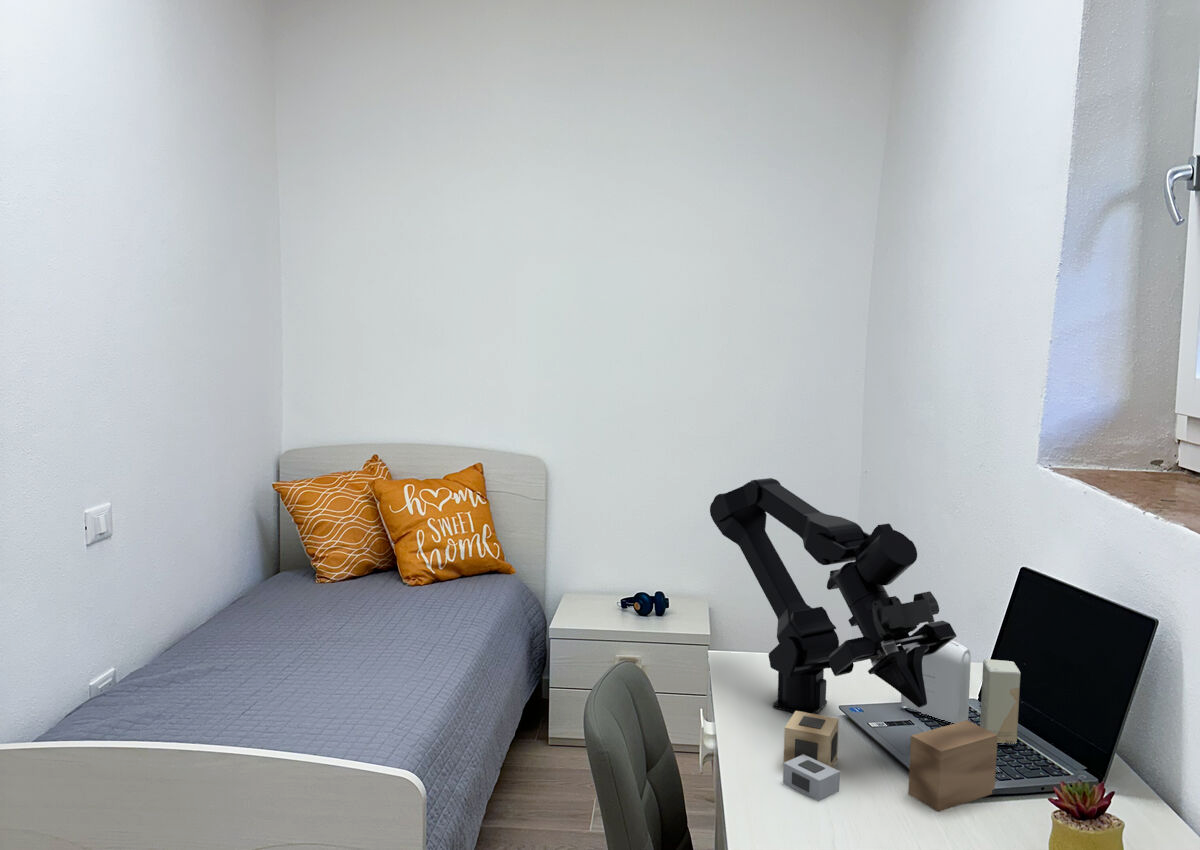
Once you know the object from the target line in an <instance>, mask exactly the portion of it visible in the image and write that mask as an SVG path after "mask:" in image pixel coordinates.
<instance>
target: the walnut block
mask: <svg viewBox="0 0 1200 850" xmlns="http://www.w3.org/2000/svg"><path fill="white" fill-rule="evenodd" d="M997 740H998V735H997V734H995V733H993V732H990V731H988V730H986V729H984V728H982V727H980V725H978V724H976V723H974V722H971V721H969V719H968V720H966V721H962V722H958V723H955V724H952V723H950V724H949V725H945V726H941V727H937V728H934V729H930V730H926V731H922V732H919V733H915V734H911V735H910V751H909V770H908V771H909V772H908V774H909V775H908V790H907V791H908V793H907V794H908V796H909V795H910V796H911V797H913V798H914V799H916V800H918V801H919V802H921V803H923V804H924V805H926V806H928V807H929V808H931V809H932V810H934V811H936V812H937V813H939V812H942V811H945V810H948V809H951V808H955V807H957V806H960V805H961V806H962V805H963V804H966V803H969V802H972V801H975V800H980V799H982V798H984V797H988V796H992V795H994V794H993V793H992V790H994V789H995V787H996V786H995V785H996V769H997V755H998V754H997V753H998V745H997Z"/></svg>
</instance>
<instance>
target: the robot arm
mask: <svg viewBox="0 0 1200 850" xmlns="http://www.w3.org/2000/svg"><path fill="white" fill-rule="evenodd" d="M709 514H710V515H709V516H711V517H710V518H711V520H712V521H713V523H714V524H715V526H716V527H717V529H718V530H719V532H720V533H721V535H723V537H725V538H727V539H728V540H730V541H731V542H733V543H735V545H737V546H738V548H739V549H740V550H741V553H742V554H743V556H744V558H745V559H746V562H747V563H748V566H749V567H750V570H751V571H752V573H753V575H754V577H755V578H756V581H757V582H758V584H759V586H760V588H761V590H762V592H763V594H764V595H765V597H766V599H767V601H768V602H769V605H770V607H771V609H772V610H773V612H774V614H775V616H776V618H777V627H776V639H777V641H778V644H777V645H776V646H775V647H774V648H773V649H772V650H770V652H769V653H768V659H769V664H770V665H769V666H770V668H771V669H773V670H775V671H777V672H778V674H777V700H776V701H774V702H773V703H772V707H773V708H774V709H778V710H782V711H786V712H790V713H793V714H794V713H795V711H800V712H806V713H811V714H817V713H818V712H819V711H820V710H821V709H823V707H825V706H826V705H827V703H828V701H827V680H826V679H825V678H824V673H825V672H824V671H825V670H824V669H831V671H832V674H833V676H835V677H837V676H842V675H846V674H851V673H852V672H853V669H854V664H855V663H857V662H863V661H867V660H870V663H871V665H872V667H871V668H869V669H868V670H867V672H868V674H869V675H875V676H876V677H878V678H879V679H881V680H882V681H884V682H885V683H886V684H888V685H889V686H891V687H892V688H893V689H895V690H896V691H897V692H898V693H900V695H901V694H902V695H904V696H905V697H906V698H907V699H908V700H910V701H911V702H912V703H913V704H915V705H916V706H917V707H919V708H920V707H924V706H925V705H927V699H926V692H925V686H924V680H923V673H922V659H923V656H927V655H931V654H933V653H935V652H937V651H938V650H939V649H941V648H942V647H943V646H945V645H946V644H947V643H949V642H950V641H951V640H952V641H954V639H955V638H956V637H957V634H956V631H955V630H954V629H953V626H952V625H951V624H950V622H948V621H945V620H938V621H935V617H934V615H939V612H940V606H939V602H938V601H937V598H935V596H934V594H933V593H932V591H930V590H928V591H925V592H920V593H915V594H913V601H909V602H904V603H903V602H901V600H900V598H899V597H897V595H894V596H890V595H889V594H888V592H887V590H886V587H884V586H889V585H891V584H892V583H894V582H895V581H896V580H897V579H898V578H899V577H900V576H901V575H902V574H903V573H904V572H905V571H907V570H908V569H909V568H910V567H912V565H913V564H914V563H916V561H917V559H918V550H917V547H916V545H915V544H914V541H913V540H911V539H909V538H908V537H907V536H906V535H905V534H903V532H900V531H898V530H896V529H893V527H892V525H891V523H888V522H887V523H882V524H877V526H876V527H874V529H873V530H872V533H870V534H869V533H867V532H866V531H864V530H863V528H862V527H861V525H859V524H858V523H856V522H854V521H852V520H849V519H847V518H845V517H841V516H838V515H831V514H828V513H827V514H826V513H825V512H822V511H820V510H819V509H817V508H816V507H813V505H811V504H809V503H808V502H807V501H805V500H804V499H802V498H801V497H799V496H798V495H796V494H795V493H793V492H792V491H790V490H789V489H787V488H785V487H784V486H783V485H782V484H781V483H780V481H779V480H777V479H775V478H772V477H769V478H760V479H751V480H750V481H748V482H747V483H745V484H744V485H742V486H740V487H737V488H735V489H732V490H731V491H728V492H725V493H724V492H723V493H719V494H716V495H715V496H714V499H713V501H711V503H710V505H709ZM767 514H768V515H770V516H771V517H772V518H774V519H775V520H777V521H778V522H779V523H781V524H782V525H783V526H785V527H786V528H787V529H789V530H790V531H792V532H794V534H796V535H797V536H799V538H801V539H802V543H803V549H805V551H806V552H807V553H808V554H809V555H810V556H811V557H812V558H813V559H814V560H815V561H816V562H817V563H818V564H820V565H822V566H830V565H836V564H841V563H845V564H844V565H842V567H840V568H839V569H833V570H830V571H829V577H828V580H827V582H826V589H827V590H829V591H830V590H837V589H838V590H839V591H840V594H841V596H842V597H843V599H844V601H845V603H846V605H847V607H848V610H849V611H850V614H851V615H852V616H851V617H850V618H848V622H849V624H850V627H858V629H859V631H860V632H861V635H862V636H860V637H856V638H851V639H846V640H845V641H844V642H843V643H841V644H840V640H839V636H838V633H837V632H836V631H835V630H837V626H836V625H834V624H833V622H832V621H831V619H830V617H829V615H828V613H827V610H826V609H825V608H824V607H823V606H817V607H811V606H810V605H808V604H807V603H806V601H805V599H804V598H803V596H802V594H801V593H800V591H799V589H798V587H797V585H796V584H795V581H794V580H793V578H792V576H791V575H790V573H789V571H788V569H787V567H786V565H785V564H784V561H783V560H782V558H781V557H780V555H779V553H778V551H777V550H776V548H775V546H774V544H773V542H772V540H771V539H770V537H769V535H768V533H767V531H766V527H767ZM922 623H923V625H922V626H921V627H919V628H918V626H919V625H920V624H922ZM916 629H917V630H916ZM915 630H916V631H915ZM913 631H914V632H913ZM911 632H913V633H912V634H909V633H911Z"/></svg>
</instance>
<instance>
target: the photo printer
mask: <svg viewBox="0 0 1200 850" xmlns="http://www.w3.org/2000/svg"><path fill="white" fill-rule="evenodd" d="M971 655H972V654H971V651H970V649H969V648H967V647H966V646H964V645H962V644H960V643H959V642H957V641H954V640H951V641H950V642H949V643H947V644H946V645H945V646H943V647H942V648H941V649H939V650H938V651H937V652H935V653H933V654H931V655H927V656H923V659H922V673H923V680H924V686H925V692H926V699H927V705H925V706H924V707H920V708H919V707H917V706H916V705H915V704H913V703H912V702H911V701H910V700H908V699H907V698H906V697H905V696H904V695H902V694H901V693H900V706H901V705H903V706H906V707H908V708H911V709H914V710H917V711H919V712H921V713H923V714H927V715H929V716H932V717H935V718H938V719H941V720H945V721H948V722H951V723H950V724H952V723H958V722H962V721H966V720H968V721H969V708H970V689H971V688H970V686H971V685H970V683H971V660H972V659H971V658H972V657H971ZM938 719H937V720H938ZM941 720H940V721H941ZM945 721H944V722H945ZM948 722H947V723H948Z"/></svg>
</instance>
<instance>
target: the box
mask: <svg viewBox="0 0 1200 850" xmlns="http://www.w3.org/2000/svg"><path fill="white" fill-rule="evenodd" d="M981 680H982V681H981V683H982V684H981V698H980V701H981V703H980V722H979V726H980V727H982V728H984V729H986V730H988V731H990V732H993V733H995V734H997V735H998V740H997V743H1009V744H1010V743H1011V744H1014V743H1015V744H1016V743H1017V741H1018V727H1019V726H1018V725H1019V724H1018V723H1019V708H1020V707H1019V706H1020V687H1021V685H1020V684H1021V671H1020V669H1019V668H1018V666H1017V665H1016V663H1015V662H1014V661H1011V660H1010V661H1009V660H1002V659H1001V660H999V659H989V658H988V659H987V658H986V659H983V660H982V679H981Z"/></svg>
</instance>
